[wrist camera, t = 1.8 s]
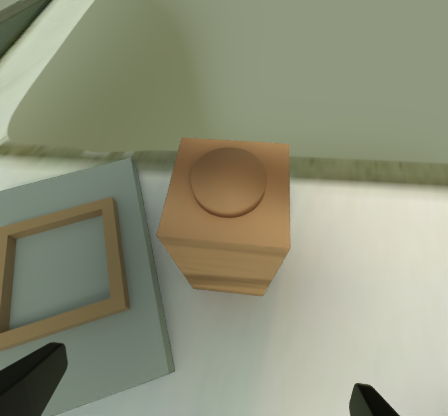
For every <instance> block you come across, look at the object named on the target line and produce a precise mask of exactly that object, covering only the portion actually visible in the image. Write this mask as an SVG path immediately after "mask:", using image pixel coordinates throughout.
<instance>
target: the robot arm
mask: <svg viewBox="0 0 448 416" xmlns="http://www.w3.org/2000/svg"><path fill="white" fill-rule="evenodd" d="M67 366H68V359H67V353H66V346H65V345H64V344H63V343H58V342H50V343H48V344H46V345H44V346H43V347H41V348H39V349H37V350H36V351H34V352H32V353H30V354H28V355H27V356H25V357H23V358H21V359H20V360H18V361H16V362H14V363H12V364H11V365H9V366H7V367H5V368H4V369H2V370H0V416H41V415H42V413H43V412H44V410H45V408H46V406H47V404H48V403H49V401H50V399H51V397H52V395H53V394H54V392H55V390H56V388H57V386H58V384H59V383H60V381H61V379H62V377H63V375H64V374H65V372H66V370H67ZM349 410H350V416H400V415H399V414H398V413H397V412H396V411H395V410H394V409H393V408H392V407H391V406H390V405H389V404H388V403H387V402H386V401H385V399H384V398H383V397H382V396H381V395H380V394H379V393H378V392H377V391H376V390H375V389H374V388H373V387H372V386H371V385H368V384H361V383H356V384H355V385H354V388H353V391H352V395H351V399H350V403H349Z"/></svg>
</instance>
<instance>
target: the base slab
mask: <svg viewBox="0 0 448 416" xmlns="http://www.w3.org/2000/svg"><path fill="white" fill-rule="evenodd" d="M50 342H58V343H63V344H64V345H65V346H66V353H67V359H68V366H67V370H66V372H65V374H64V375H63V377H62V379H61V381H60V383H59V384H58V386H57V388H56V390H55V392H54V394H53V395H52V397H51V399H50V401H49V403H48V404H47V406H46V408H45V410H44V412H43V413H42V415H41V416H54V415H57V414H60V413H62V412H65V411H68V410H71V409H73V408H76V407H79V406H82V405H84V404H87V403H90V402H93V401H95V400H98V399H101V398H104V397H106V396H109V395H112V394H115V393H117V392H120V391H123V390H126V389H128V388H131V387H134V386H137V385H139V384H142V383H145V382H148V381H150V380H153V379H156V378H159V377H161V376H164V375H167V374H170V373H172V372H174V371H175V369H174V364H173V359H172V353H171V348H170V343H169V337H168V332H167V327H166V321H165V316H164V311H163V305H162V300H161V295H160V290H159V284H158V279H157V274H156V268H155V263H154V258H153V252H152V247H151V242H150V236H149V231H148V226H147V220H146V215H145V210H144V204H143V199H142V194H141V188H140V183H139V178H138V172H137V168H136V167H135V165H134V163H133V161H132V159H131V158H127V159H123V160H119V161H115V162H111V163H108V164H104V165H100V166H96V167H92V168H88V169H84V170H81V171H77V172H73V173H69V174H65V175H61V176H57V177H54V178H50V179H46V180H42V181H38V182H34V183H30V184H27V185H23V186H19V187H15V188H11V189H7V190H3V191H0V370H2V369H4V368H5V367H7V366H9V365H11V364H12V363H14V362H16V361H18V360H20V359H21V358H23V357H25V356H27V355H28V354H30V353H32V352H34V351H36V350H37V349H39V348H41V347H43V346H44V345H46V344H48V343H50Z"/></svg>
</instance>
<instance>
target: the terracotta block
mask: <svg viewBox="0 0 448 416" xmlns="http://www.w3.org/2000/svg"><path fill="white" fill-rule="evenodd" d="M157 237H158V239H159V240H160V241H161V243H162V244H163V246H164V247H165V249H166V250H167V251H168V253H169V254H170V256H171V257H172V259H173V260H174V262H175V263H176V264H177V266H178V267H179V269H180V270H181V272H182V273H183V274H184V276H185V277H186V279H187V280H188V282H189V283H190V284H191V286H192V287H193V289H202V290H211V291H220V292H229V293H238V294H247V295H256V296H263V295H264V293H265V292H266V290H267V288H268V286H269V285H270V283H271V281H272V279H273V278H274V276H275V274H276V272H277V271H278V269H279V267H280V265H281V264H282V262H283V260H284V258H285V257H286V255H287V253H288V251H289V250H290V179H289V144H279V143H262V142H245V141H229V140H213V139H197V138H181V142H180V146H179V150H178V154H177V158H176V162H175V165H174V169H173V173H172V177H171V181H170V185H169V189H168V193H167V197H166V201H165V205H164V209H163V212H162V216H161V220H160V224H159V228H158V232H157Z"/></svg>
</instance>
